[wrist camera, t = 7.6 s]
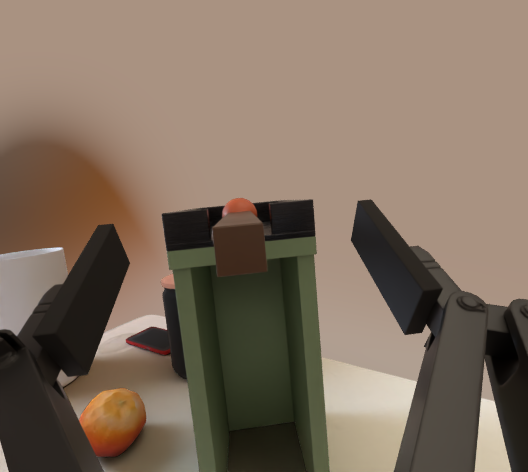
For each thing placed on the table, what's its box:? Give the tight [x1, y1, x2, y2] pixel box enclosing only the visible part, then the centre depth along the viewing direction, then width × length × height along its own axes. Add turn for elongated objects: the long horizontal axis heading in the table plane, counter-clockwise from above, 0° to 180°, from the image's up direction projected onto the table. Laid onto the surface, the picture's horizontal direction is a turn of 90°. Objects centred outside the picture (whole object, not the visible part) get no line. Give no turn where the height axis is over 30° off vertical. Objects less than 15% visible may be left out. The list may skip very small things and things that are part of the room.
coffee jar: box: [161, 274, 187, 379], centre depth 56 cm, size 11×11×18 cm
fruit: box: [79, 388, 146, 457], centre depth 39 cm, size 8×8×8 cm
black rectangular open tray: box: [162, 200, 315, 251], centre depth 31 cm, size 16×12×3 cm
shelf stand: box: [167, 236, 330, 472], centre depth 33 cm, size 16×12×28 cm
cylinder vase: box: [0, 248, 78, 387], centre depth 55 cm, size 12×12×25 cm
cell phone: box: [126, 327, 171, 355], centre depth 69 cm, size 8×15×1 cm, turn 58°
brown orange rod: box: [212, 198, 267, 277], centre depth 24 cm, size 26×3×3 cm, turn 5°
